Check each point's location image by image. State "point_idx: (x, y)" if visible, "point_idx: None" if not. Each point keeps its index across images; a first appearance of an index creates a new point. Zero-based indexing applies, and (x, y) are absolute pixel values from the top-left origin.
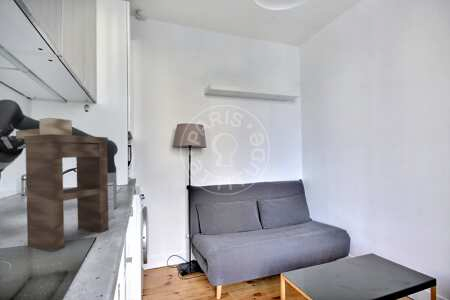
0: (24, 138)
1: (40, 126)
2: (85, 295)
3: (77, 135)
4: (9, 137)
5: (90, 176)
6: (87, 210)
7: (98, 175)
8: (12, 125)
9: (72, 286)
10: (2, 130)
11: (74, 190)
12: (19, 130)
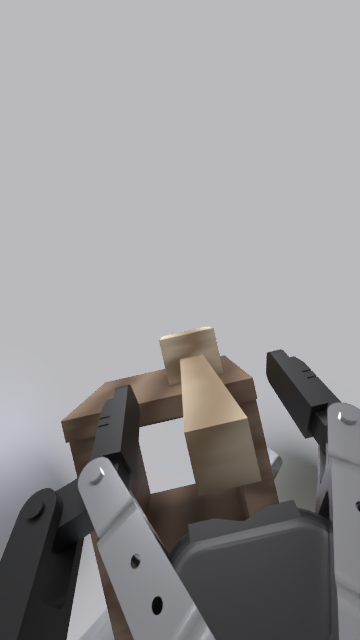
0: (253, 384)
1: (217, 347)
2: (267, 447)
3: None
4: (310, 513)
5: (139, 492)
6: None
7: (143, 468)
8: (267, 356)
9: (271, 461)
10: (327, 392)
11: (186, 518)
12: (234, 400)
